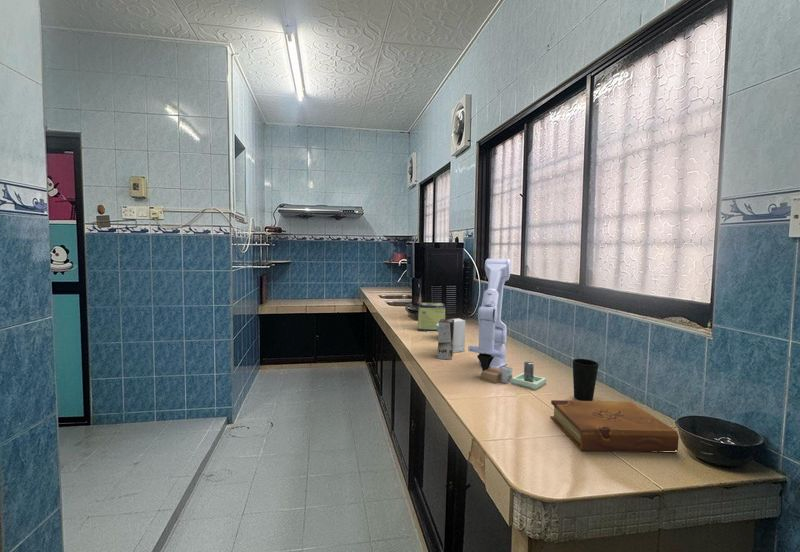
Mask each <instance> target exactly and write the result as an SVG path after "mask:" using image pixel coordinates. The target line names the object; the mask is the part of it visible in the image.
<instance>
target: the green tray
mask: <svg viewBox="0 0 800 552" xmlns="http://www.w3.org/2000/svg"><path fill="white" fill-rule="evenodd" d="M510 383H511V385H515V386H519V387H522V388H526V389H530V390H534V391H537V390H539V389H540V388H542V387H544V386H545V385H546V384H547V378H546V377H542V376H538V375H533V383H532V382H528V381H524V372H520V373H519V374H517V375H515V376H512V378H511V382H510Z"/></svg>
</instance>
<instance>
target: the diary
mask: <svg viewBox="0 0 800 552" xmlns="http://www.w3.org/2000/svg"><path fill="white" fill-rule="evenodd" d="M550 404H551V405H552V406H553V415H550V419H551V420H552V421H553V422H554V423H555V425H556V426H557V427H558V428H559V429H560V430H561V431H562V432H563V433H564V434H565V436H567V438H570V439H569V440H570V441H571V442H572V441H573V442H572V444H574V443H575V444H574V445H575V446H576V445H577V446H576V447H577V448H578V449H579V451H580V450H581V452H614V451H675V450H677V451H678V450H679V448H678V447H679V438H680V436H679V434H678V431H677V430H676V429H674V428H672V427H671V426H669V425H668V424H667V423H665V422H663V421H662V420H660V419H659V418H657V417H655V416H654V415H652V414H651V413H650V412H647V410H644V409H643V408H642V407H640V406H638V405H637V404H636V403H634V402H632V401H611V400H610V401H609V400H608V401H607V400H601V401H600V400H592V401H581V400H555V399H551V401H550ZM678 452H679V451H678Z"/></svg>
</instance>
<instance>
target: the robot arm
mask: <svg viewBox="0 0 800 552" xmlns="http://www.w3.org/2000/svg"><path fill="white" fill-rule="evenodd" d="M511 266H512V264H511V259H509V258H487V259H486V260H485V262H484V272H485V276H486V277H487V278H486V279H488V282H487V283H488V284H487V289H485V291H483V295H482V299H481V300H482V301H481V305H480V306H478V311H477V318H478V321H477V323H478V326H479V327H478V346H476V345H468V346H467V351H468V352H473V353H478V355H476V356H477V359H478V361H479V365H480V367H481V369H482V370H481V372H482V371H484V370H486V369H489V368H491V367H497V368H501V367H504V366H506V365H508V362H506V358H507V357H506V355H507V347H506V346H505V345H506V343H507V337H508V332H507V331H508V327H507V325H506V324H505V323H504V322H503V321H502V320H501V319H502V318H501V317H502V309H503V308H502V307H503V306H502V305H503V298H504V296H503V294H504V287H505V283H506V281H507V282H508V281H509V280H510V277H511V269H512V267H511Z"/></svg>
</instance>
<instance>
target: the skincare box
mask: <svg viewBox="0 0 800 552" xmlns="http://www.w3.org/2000/svg"><path fill="white" fill-rule="evenodd" d="M451 319H452V320H454V341H453V352H454V353H459V352H460V351H461V352H465V350H466V349H465V348H466V347H465V346H466V344H465V343H466V320H465V319H461V318H459V317H458V318H451Z"/></svg>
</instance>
